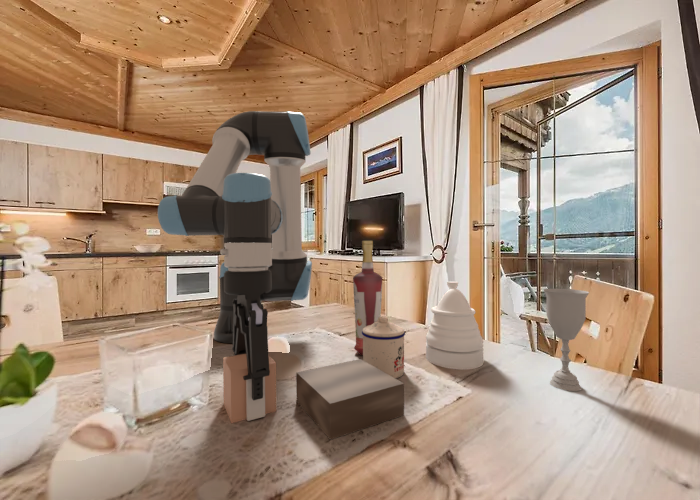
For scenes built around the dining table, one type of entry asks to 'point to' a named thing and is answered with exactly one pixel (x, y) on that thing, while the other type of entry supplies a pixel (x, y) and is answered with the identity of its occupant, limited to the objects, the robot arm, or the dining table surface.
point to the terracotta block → (244, 387)
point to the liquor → (366, 295)
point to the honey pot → (454, 333)
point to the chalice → (566, 329)
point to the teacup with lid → (384, 347)
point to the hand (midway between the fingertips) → (249, 405)
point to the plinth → (349, 396)
